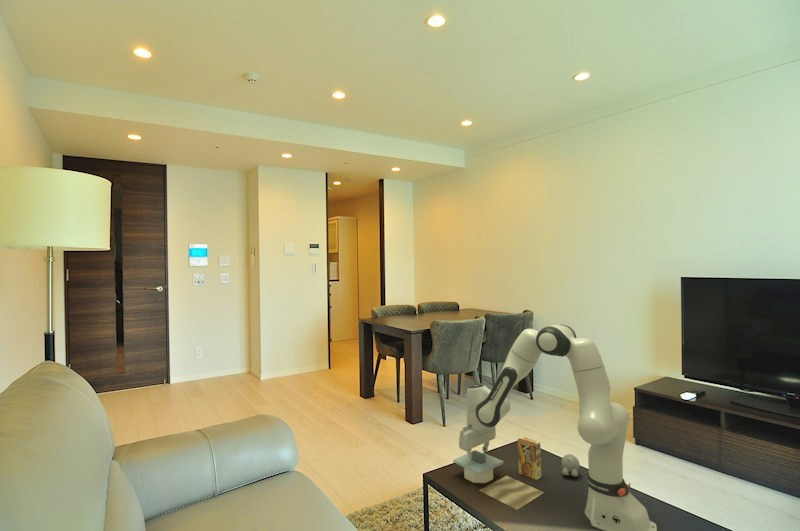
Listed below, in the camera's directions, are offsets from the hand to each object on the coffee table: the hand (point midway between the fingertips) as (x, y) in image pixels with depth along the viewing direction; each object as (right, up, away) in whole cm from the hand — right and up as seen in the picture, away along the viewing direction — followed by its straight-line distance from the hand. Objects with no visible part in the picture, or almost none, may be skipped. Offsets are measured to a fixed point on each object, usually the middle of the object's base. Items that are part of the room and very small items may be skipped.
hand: (478, 454), depth 181 cm
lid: (0, -4, 0) cm, 4 cm away
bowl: (0, -10, 0) cm, 10 cm away
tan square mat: (+11, -9, -13) cm, 20 cm away
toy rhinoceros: (+40, -9, +1) cm, 41 cm away
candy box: (+22, -9, 0) cm, 24 cm away
